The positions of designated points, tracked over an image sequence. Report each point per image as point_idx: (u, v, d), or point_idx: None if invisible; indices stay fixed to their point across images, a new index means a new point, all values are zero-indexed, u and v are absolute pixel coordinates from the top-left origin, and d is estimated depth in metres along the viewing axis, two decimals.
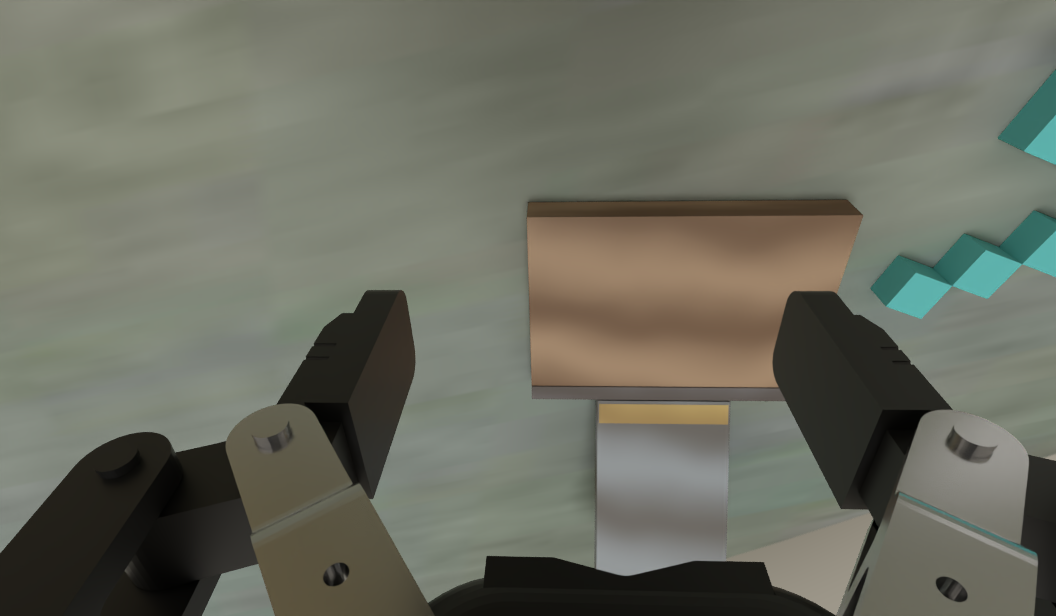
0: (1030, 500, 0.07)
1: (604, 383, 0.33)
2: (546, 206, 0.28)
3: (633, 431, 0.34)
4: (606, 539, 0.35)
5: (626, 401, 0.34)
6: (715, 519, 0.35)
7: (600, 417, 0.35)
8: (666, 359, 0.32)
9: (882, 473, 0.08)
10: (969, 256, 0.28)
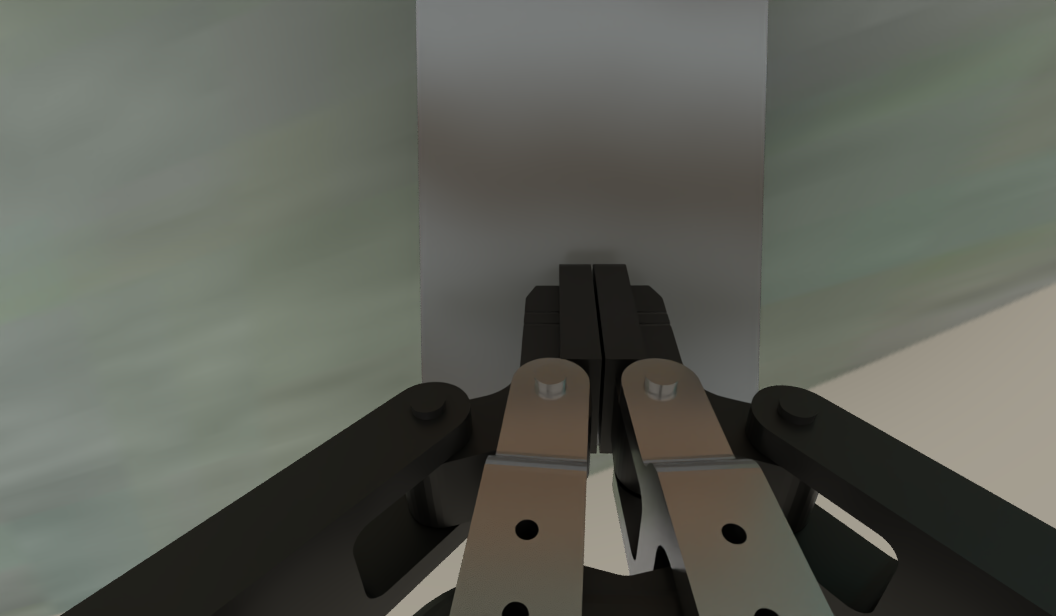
0: None
1: None
2: None
3: None
4: (444, 229, 0.13)
5: None
6: (732, 164, 0.13)
7: None
8: None
9: (613, 416, 0.10)
10: None
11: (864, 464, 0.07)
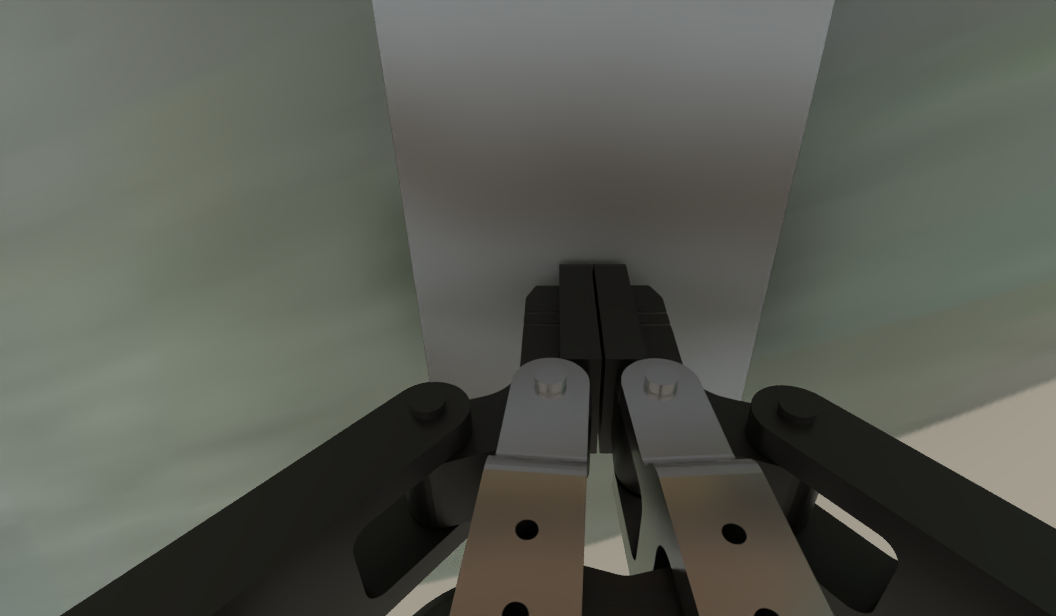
0: None
1: None
2: None
3: None
4: (434, 240, 0.12)
5: None
6: (758, 173, 0.11)
7: None
8: None
9: (614, 416, 0.10)
10: None
11: (864, 464, 0.07)
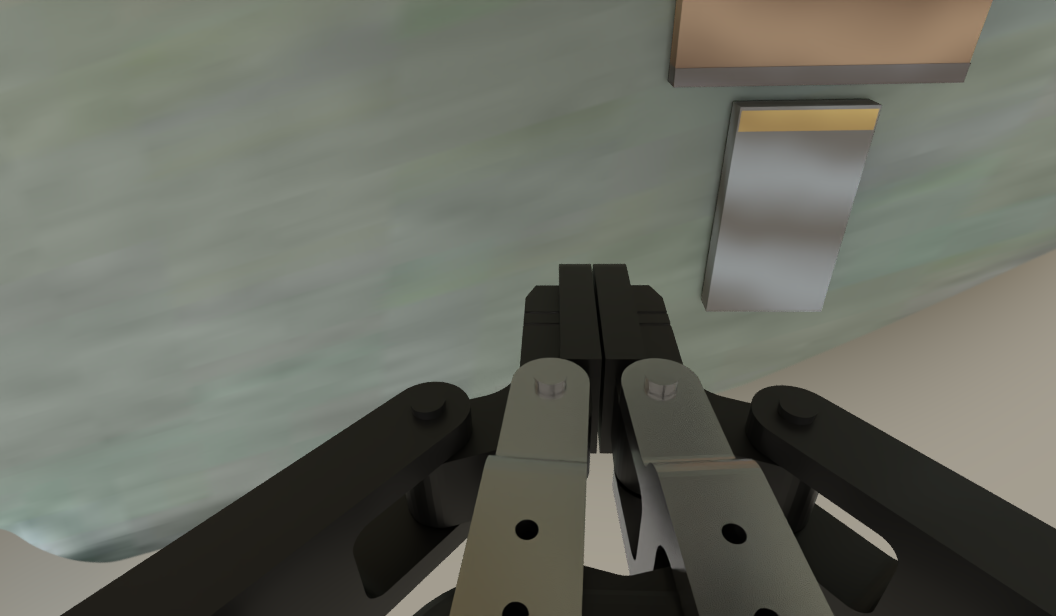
0: None
1: (754, 62, 0.31)
2: None
3: (772, 139, 0.34)
4: (726, 245, 0.37)
5: (771, 107, 0.33)
6: (835, 224, 0.36)
7: (740, 125, 0.33)
8: (825, 24, 0.30)
9: (613, 416, 0.10)
10: None
11: (864, 464, 0.07)
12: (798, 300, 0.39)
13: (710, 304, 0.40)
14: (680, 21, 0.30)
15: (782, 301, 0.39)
